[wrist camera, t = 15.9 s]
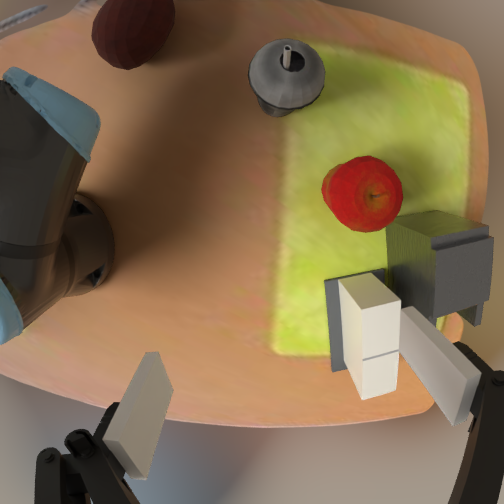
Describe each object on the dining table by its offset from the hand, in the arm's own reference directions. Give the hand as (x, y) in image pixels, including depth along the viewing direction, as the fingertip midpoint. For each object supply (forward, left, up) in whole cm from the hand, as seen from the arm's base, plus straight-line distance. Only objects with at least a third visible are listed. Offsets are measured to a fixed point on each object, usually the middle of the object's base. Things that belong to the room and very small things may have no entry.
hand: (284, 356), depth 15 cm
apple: (+12, +5, -27) cm, 30 cm away
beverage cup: (+5, +18, -27) cm, 33 cm away
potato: (-11, +32, -27) cm, 43 cm away
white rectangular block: (+12, -14, -26) cm, 32 cm away
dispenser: (+22, -6, -27) cm, 35 cm away
